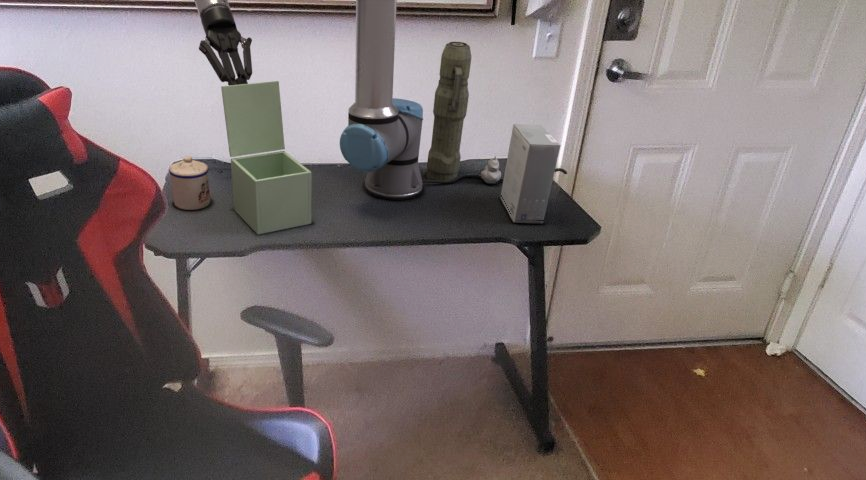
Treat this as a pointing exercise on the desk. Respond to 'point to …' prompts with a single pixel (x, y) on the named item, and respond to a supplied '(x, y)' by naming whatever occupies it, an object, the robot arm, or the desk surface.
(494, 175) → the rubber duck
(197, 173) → the teacup with lid
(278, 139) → the bin lid
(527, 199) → the hard drive box
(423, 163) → the desk surface
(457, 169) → the thermos
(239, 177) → the bin
